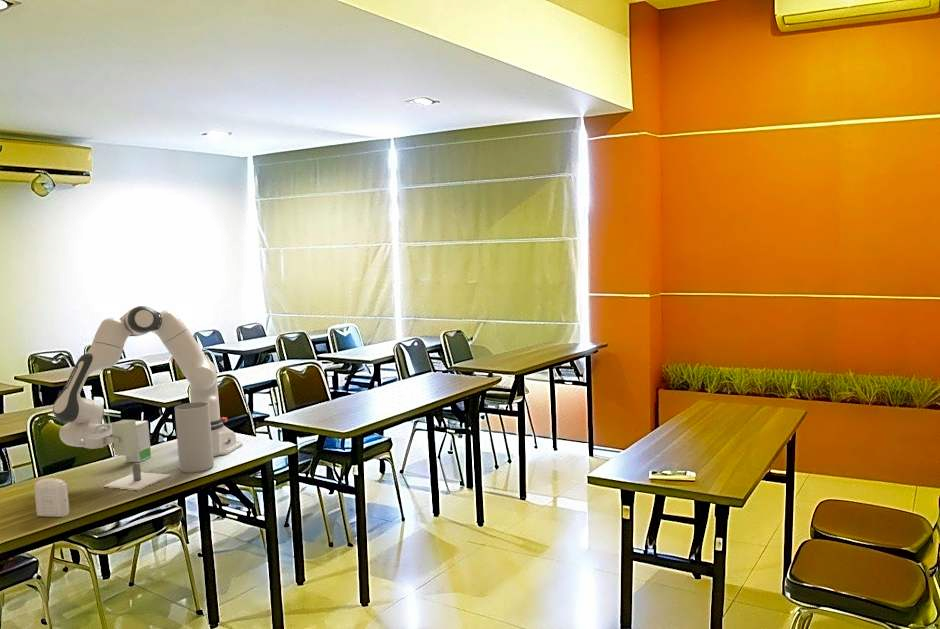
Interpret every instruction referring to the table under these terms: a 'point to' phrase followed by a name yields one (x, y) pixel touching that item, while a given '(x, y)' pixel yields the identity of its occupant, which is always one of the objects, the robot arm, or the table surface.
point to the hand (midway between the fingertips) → (127, 437)
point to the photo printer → (51, 497)
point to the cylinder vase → (194, 437)
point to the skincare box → (141, 443)
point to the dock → (137, 484)
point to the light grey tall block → (125, 437)
